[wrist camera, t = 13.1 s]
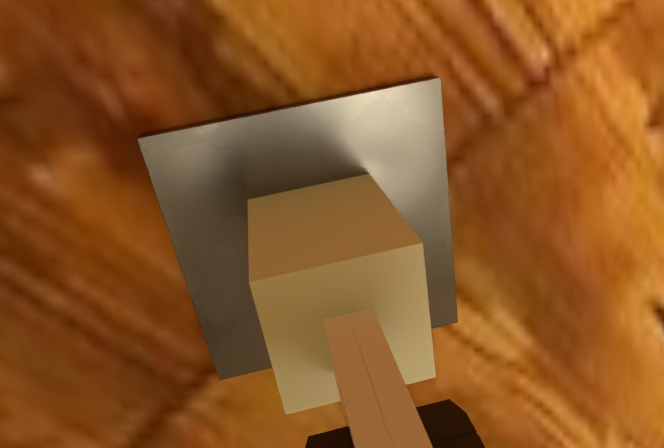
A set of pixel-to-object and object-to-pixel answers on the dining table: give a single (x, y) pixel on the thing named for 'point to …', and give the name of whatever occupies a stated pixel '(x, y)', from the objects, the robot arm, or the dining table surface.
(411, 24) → the dining table surface
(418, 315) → the beige rectangular block
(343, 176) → the grey square plate
